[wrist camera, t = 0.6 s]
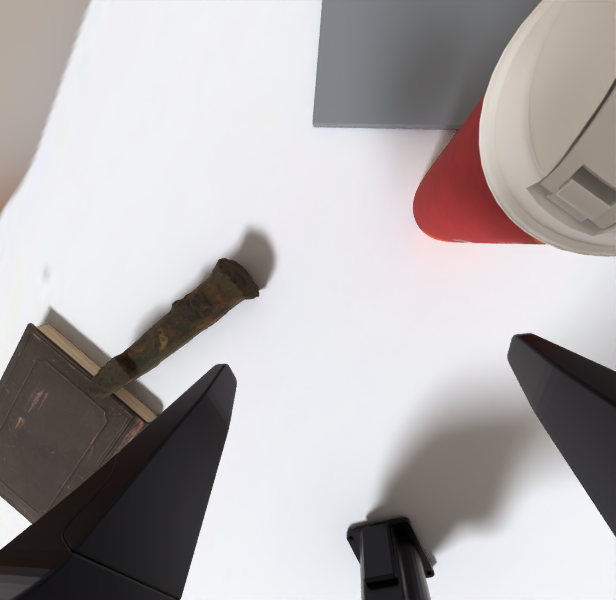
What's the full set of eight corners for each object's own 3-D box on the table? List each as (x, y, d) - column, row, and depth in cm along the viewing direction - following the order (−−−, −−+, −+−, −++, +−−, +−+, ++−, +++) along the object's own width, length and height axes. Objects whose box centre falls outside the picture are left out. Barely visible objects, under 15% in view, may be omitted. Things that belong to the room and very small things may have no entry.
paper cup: (455, 275, 20) (688, 319, 6) (377, 217, 20) (436, 136, 6) (534, 187, 18) (1108, -22, 4) (447, 124, 18) (738, -264, 5)
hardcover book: (-14, 447, 33) (-41, 461, 31) (53, 318, 28) (27, 323, 25) (78, 527, 33) (58, 547, 31) (164, 412, 27) (148, 426, 25)
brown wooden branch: (240, 255, 23) (213, 254, 18) (266, 292, 23) (245, 300, 18) (108, 357, 27) (59, 377, 23) (130, 387, 27) (86, 413, 23)
